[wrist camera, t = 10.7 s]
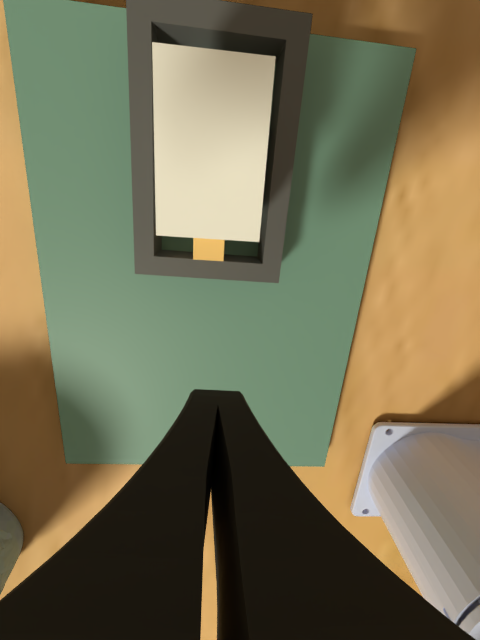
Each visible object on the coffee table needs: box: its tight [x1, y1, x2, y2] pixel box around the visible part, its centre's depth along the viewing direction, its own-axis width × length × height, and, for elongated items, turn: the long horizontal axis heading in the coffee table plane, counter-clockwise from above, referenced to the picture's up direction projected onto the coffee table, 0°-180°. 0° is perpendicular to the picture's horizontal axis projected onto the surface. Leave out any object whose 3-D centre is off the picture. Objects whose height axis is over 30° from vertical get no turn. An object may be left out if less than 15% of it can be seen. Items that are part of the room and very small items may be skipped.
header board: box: [3, 0, 416, 467], centre depth 16 cm, size 16×22×3 cm
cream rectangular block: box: [152, 42, 276, 261], centre depth 11 cm, size 3×5×6 cm, turn 176°
